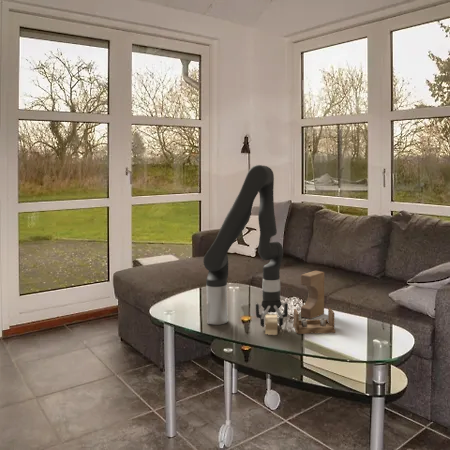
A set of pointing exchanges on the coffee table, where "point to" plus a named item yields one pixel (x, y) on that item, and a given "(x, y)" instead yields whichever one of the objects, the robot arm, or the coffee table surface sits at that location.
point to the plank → (271, 324)
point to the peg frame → (314, 324)
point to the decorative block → (313, 294)
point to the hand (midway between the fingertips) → (271, 326)
